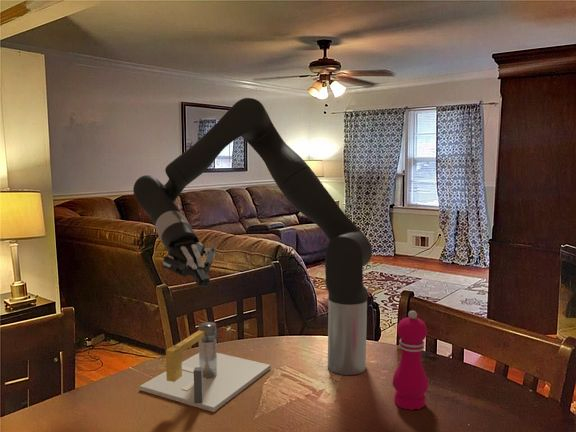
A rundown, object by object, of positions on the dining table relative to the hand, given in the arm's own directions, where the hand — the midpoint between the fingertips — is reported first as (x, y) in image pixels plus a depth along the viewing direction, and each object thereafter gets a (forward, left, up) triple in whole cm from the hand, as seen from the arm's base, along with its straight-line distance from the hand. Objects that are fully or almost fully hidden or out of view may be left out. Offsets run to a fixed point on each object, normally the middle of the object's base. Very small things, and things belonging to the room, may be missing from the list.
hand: (205, 283), depth 106 cm
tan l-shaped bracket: (+2, -3, -18) cm, 18 cm away
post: (-5, -3, -24) cm, 25 cm away
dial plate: (-5, -3, -24) cm, 25 cm away
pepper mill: (-16, +41, -24) cm, 50 cm away
